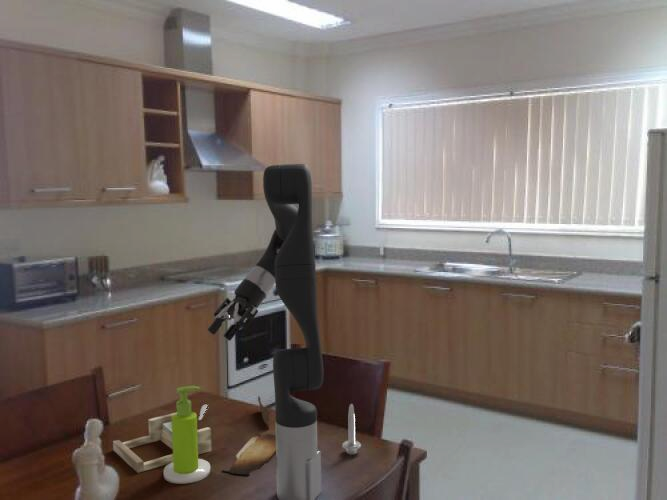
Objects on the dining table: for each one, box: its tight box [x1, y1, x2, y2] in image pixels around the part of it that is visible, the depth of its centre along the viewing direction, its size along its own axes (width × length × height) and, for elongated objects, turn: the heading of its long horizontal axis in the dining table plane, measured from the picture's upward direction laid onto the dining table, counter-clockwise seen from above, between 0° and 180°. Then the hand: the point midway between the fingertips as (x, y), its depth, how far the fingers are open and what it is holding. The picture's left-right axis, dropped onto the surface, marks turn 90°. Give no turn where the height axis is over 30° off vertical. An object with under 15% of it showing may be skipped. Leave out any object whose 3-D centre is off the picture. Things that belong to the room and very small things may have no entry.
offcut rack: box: [112, 411, 212, 474], centre depth 161 cm, size 20×17×6 cm
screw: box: [341, 403, 362, 455], centre depth 159 cm, size 13×5×5 cm
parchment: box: [222, 433, 276, 477], centre depth 159 cm, size 25×10×1 cm, turn 167°
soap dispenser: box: [172, 385, 202, 474], centre depth 148 cm, size 6×7×20 cm
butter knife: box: [197, 403, 209, 421], centre depth 183 cm, size 1×27×3 cm
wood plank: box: [257, 395, 271, 429], centre depth 183 cm, size 15×2×5 cm, turn 17°
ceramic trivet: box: [163, 458, 211, 485], centre depth 149 cm, size 11×11×1 cm
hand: (218, 335), depth 159 cm, fingers open, 8 cm apart
